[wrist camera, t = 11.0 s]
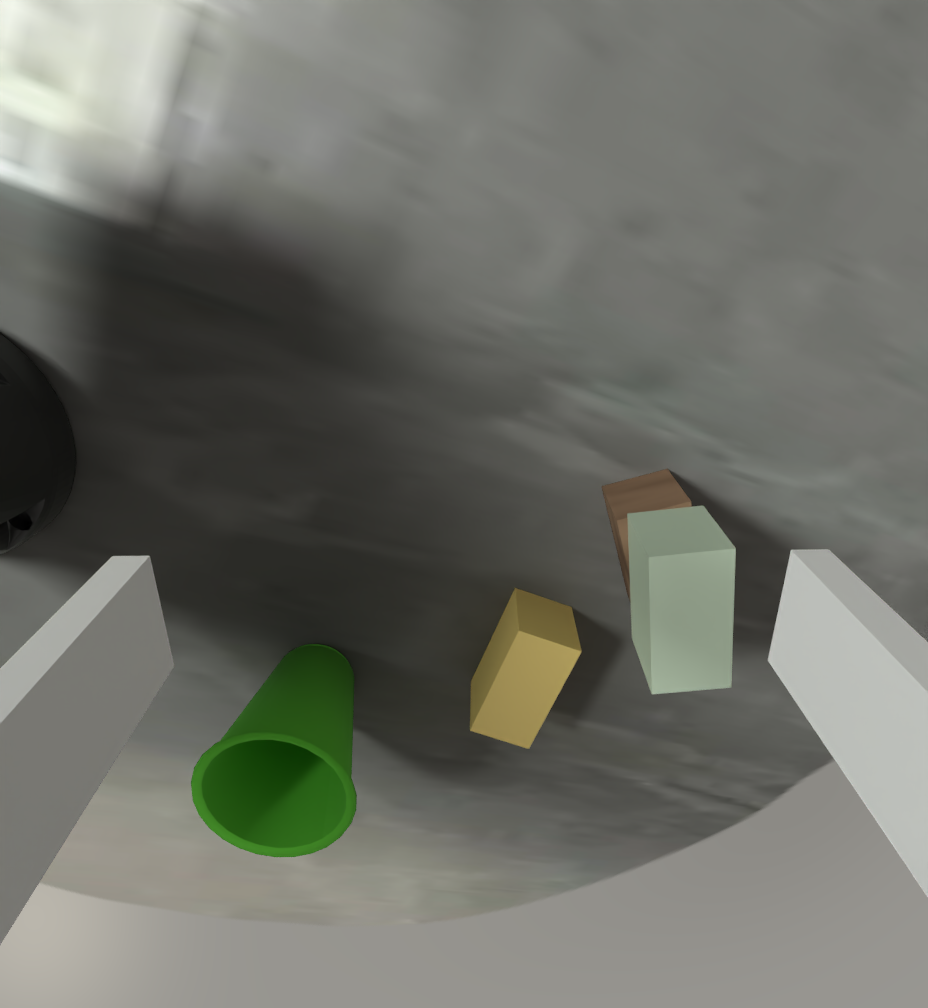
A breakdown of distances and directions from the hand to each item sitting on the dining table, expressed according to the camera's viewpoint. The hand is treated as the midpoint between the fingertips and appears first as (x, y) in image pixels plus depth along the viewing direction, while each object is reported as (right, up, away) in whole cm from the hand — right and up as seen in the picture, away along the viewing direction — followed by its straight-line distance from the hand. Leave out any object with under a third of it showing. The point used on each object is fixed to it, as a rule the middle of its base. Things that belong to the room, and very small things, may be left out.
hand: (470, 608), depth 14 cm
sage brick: (+11, -2, +23) cm, 26 cm away
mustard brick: (+4, -7, +32) cm, 33 cm away
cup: (-10, -9, +33) cm, 36 cm away
